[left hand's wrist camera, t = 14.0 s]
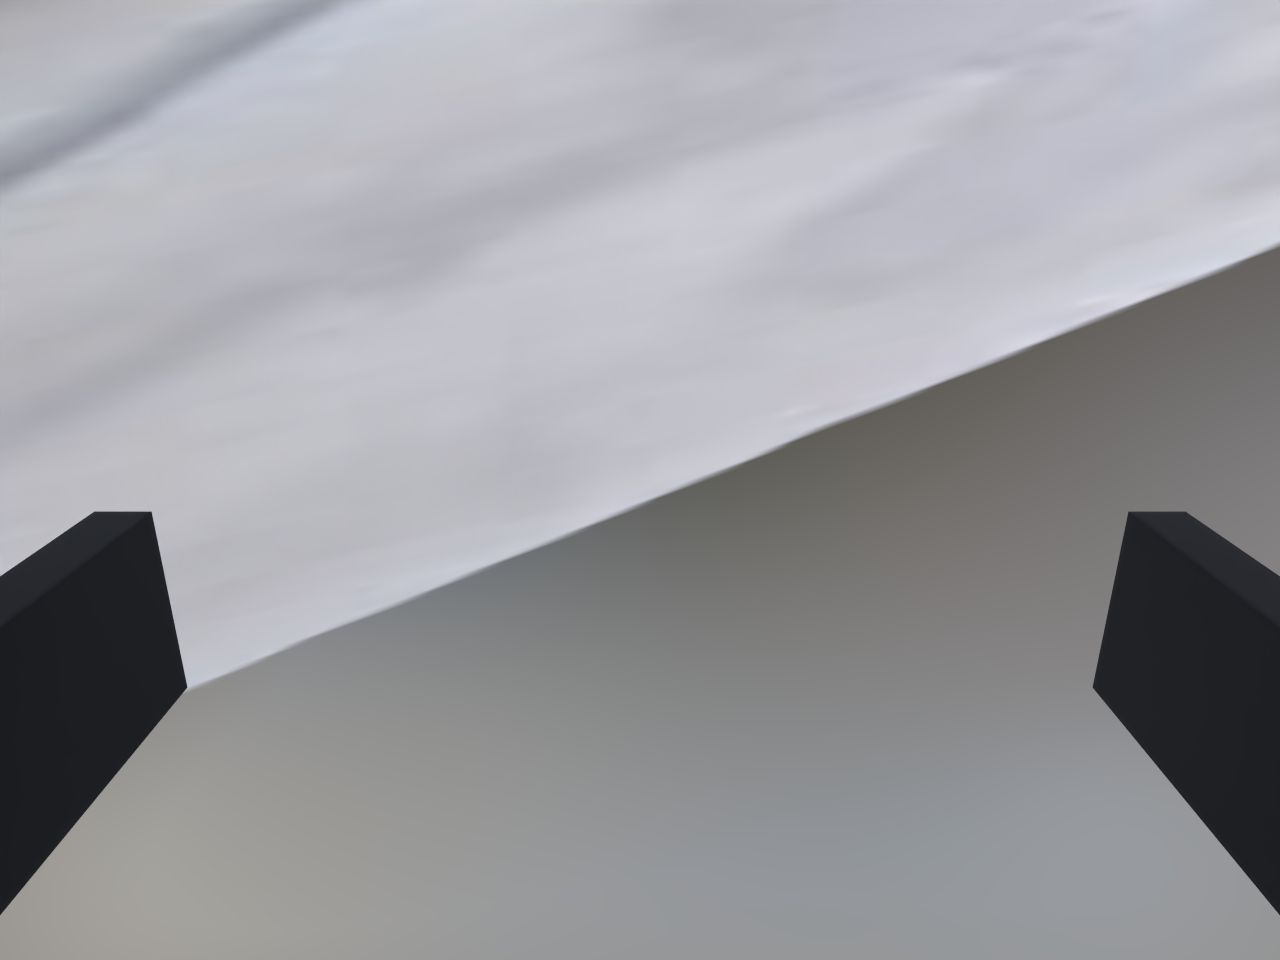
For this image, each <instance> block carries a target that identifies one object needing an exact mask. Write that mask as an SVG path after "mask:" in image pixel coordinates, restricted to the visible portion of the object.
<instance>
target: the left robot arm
mask: <svg viewBox="0 0 1280 960" xmlns="http://www.w3.org/2000/svg"><path fill="white" fill-rule="evenodd" d="M186 688H187V684H186V679H185V674H184V669H183V664H182V659H181V654H180V649H179V644H178V639H177V635H176V630H175V625H174V620H173V615H172V610H171V605H170V600H169V595H168V590H167V586H166V581H165V576H164V571H163V566H162V561H161V556H160V551H159V546H158V541H157V536H156V532H155V527H154V522H153V517H152V512H93V513H92V514H90V515H89V516H87V517H86V518H85V519H83V520H82V521H80V522H79V523H77V524H76V525H74V526H73V527H71V528H70V529H69V530H67V531H66V532H64V533H63V534H61V535H60V536H58V537H57V538H55V539H54V540H53V541H51V542H50V543H48V544H47V545H45V546H44V547H42V548H41V549H40V550H38V551H37V552H35V553H34V554H32V555H31V556H29V557H28V558H26V559H25V560H24V561H22V562H21V563H19V564H18V565H16V566H15V567H13V568H12V569H10V570H9V571H8V572H6V573H5V574H3V575H2V576H0V915H1V913H2V912H3V911H4V910H5V909H6V907H7V906H8V905H9V904H10V903H11V901H12V900H13V899H14V898H15V896H16V895H17V894H18V893H19V892H20V890H21V889H22V888H23V887H24V885H25V884H26V883H27V882H28V881H29V879H30V878H31V877H32V876H33V874H34V873H35V872H36V871H37V870H38V868H39V867H40V866H41V865H42V864H43V862H44V861H45V860H46V859H47V857H48V856H49V855H50V854H51V853H52V851H53V850H54V849H55V848H56V847H57V845H58V844H59V843H60V842H61V840H62V839H63V838H64V837H65V836H66V834H67V833H68V832H69V831H70V829H71V828H72V827H73V826H74V825H75V823H76V822H77V821H78V820H79V818H80V817H81V816H82V815H83V814H84V812H85V811H86V810H87V809H88V808H89V806H90V805H91V804H92V803H93V802H94V800H95V799H96V798H97V797H98V795H99V794H100V793H101V792H102V791H103V789H104V788H105V787H106V786H107V784H108V783H109V782H110V781H111V780H112V778H113V777H114V776H115V775H116V774H117V772H118V771H119V770H120V769H121V767H122V766H123V765H124V764H125V763H126V761H127V760H128V759H129V758H130V757H131V755H132V754H133V753H134V752H135V750H136V749H137V748H138V747H139V745H140V744H141V743H142V742H143V741H144V739H145V738H146V737H147V736H148V735H149V733H150V732H151V731H152V730H153V729H154V727H155V726H156V725H157V724H158V722H159V721H160V720H161V719H162V718H163V716H164V715H165V714H166V713H167V711H168V710H169V709H170V708H171V707H172V705H173V704H174V703H175V702H176V701H177V699H178V698H179V697H180V696H181V694H182V693H183V692H184V691H185V690H186ZM1093 688H1094V690H1095V691H1096V692H1097V693H1098V694H1099V696H1100V697H1101V698H1102V699H1103V700H1104V702H1105V703H1106V704H1107V705H1108V707H1109V708H1110V709H1111V710H1112V711H1113V713H1114V714H1115V715H1116V716H1117V718H1118V719H1119V720H1120V721H1121V722H1122V724H1123V725H1124V726H1125V727H1126V729H1127V730H1128V731H1129V732H1130V733H1131V735H1132V736H1133V737H1134V738H1135V739H1136V741H1137V742H1138V743H1139V744H1140V745H1141V747H1142V748H1143V749H1144V750H1145V752H1146V753H1147V754H1148V755H1149V757H1150V758H1151V759H1152V760H1153V761H1154V763H1155V764H1156V765H1157V766H1158V767H1159V769H1160V770H1161V771H1162V772H1163V774H1164V775H1165V776H1166V777H1167V778H1168V780H1169V781H1170V782H1171V783H1172V784H1173V786H1174V787H1175V788H1176V789H1177V791H1178V792H1179V793H1180V794H1181V795H1182V797H1183V798H1184V799H1185V800H1186V802H1187V803H1188V804H1189V805H1190V806H1191V808H1192V809H1193V810H1194V811H1195V812H1196V814H1197V815H1198V816H1199V817H1200V819H1201V820H1202V821H1203V822H1204V823H1205V825H1206V826H1207V827H1208V828H1209V830H1210V831H1211V832H1212V833H1213V834H1214V836H1215V837H1216V838H1217V839H1218V840H1219V842H1220V843H1221V844H1222V845H1223V847H1224V848H1225V849H1226V850H1227V851H1228V853H1229V854H1230V855H1231V856H1232V857H1233V859H1234V860H1235V861H1236V862H1237V864H1238V865H1239V866H1240V867H1241V868H1242V870H1243V871H1244V872H1245V873H1246V875H1247V876H1248V877H1249V878H1250V879H1251V881H1252V882H1253V883H1254V884H1255V885H1256V887H1257V888H1258V889H1259V890H1260V892H1261V893H1262V894H1263V895H1264V896H1265V898H1266V899H1267V900H1268V901H1269V903H1270V904H1271V905H1272V906H1273V907H1274V909H1275V910H1276V911H1277V912H1278V913H1279V915H1280V576H1278V575H1277V574H1275V573H1274V572H1272V571H1271V570H1270V569H1268V568H1267V567H1265V566H1264V565H1262V564H1261V563H1259V562H1258V561H1256V560H1255V559H1254V558H1252V557H1251V556H1249V555H1248V554H1246V553H1245V552H1243V551H1242V550H1240V549H1239V548H1238V547H1236V546H1235V545H1233V544H1232V543H1230V542H1229V541H1227V540H1226V539H1225V538H1223V537H1222V536H1220V535H1219V534H1217V533H1216V532H1214V531H1213V530H1211V529H1210V528H1209V527H1207V526H1206V525H1204V524H1203V523H1201V522H1200V521H1198V520H1197V519H1195V518H1194V517H1192V516H1191V515H1190V514H1188V513H1187V512H1128V517H1127V522H1126V527H1125V532H1124V536H1123V542H1122V546H1121V551H1120V556H1119V561H1118V566H1117V571H1116V576H1115V581H1114V586H1113V590H1112V595H1111V600H1110V605H1109V610H1108V615H1107V620H1106V625H1105V630H1104V635H1103V640H1102V644H1101V649H1100V654H1099V659H1098V664H1097V669H1096V674H1095V679H1094V684H1093Z"/></svg>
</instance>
